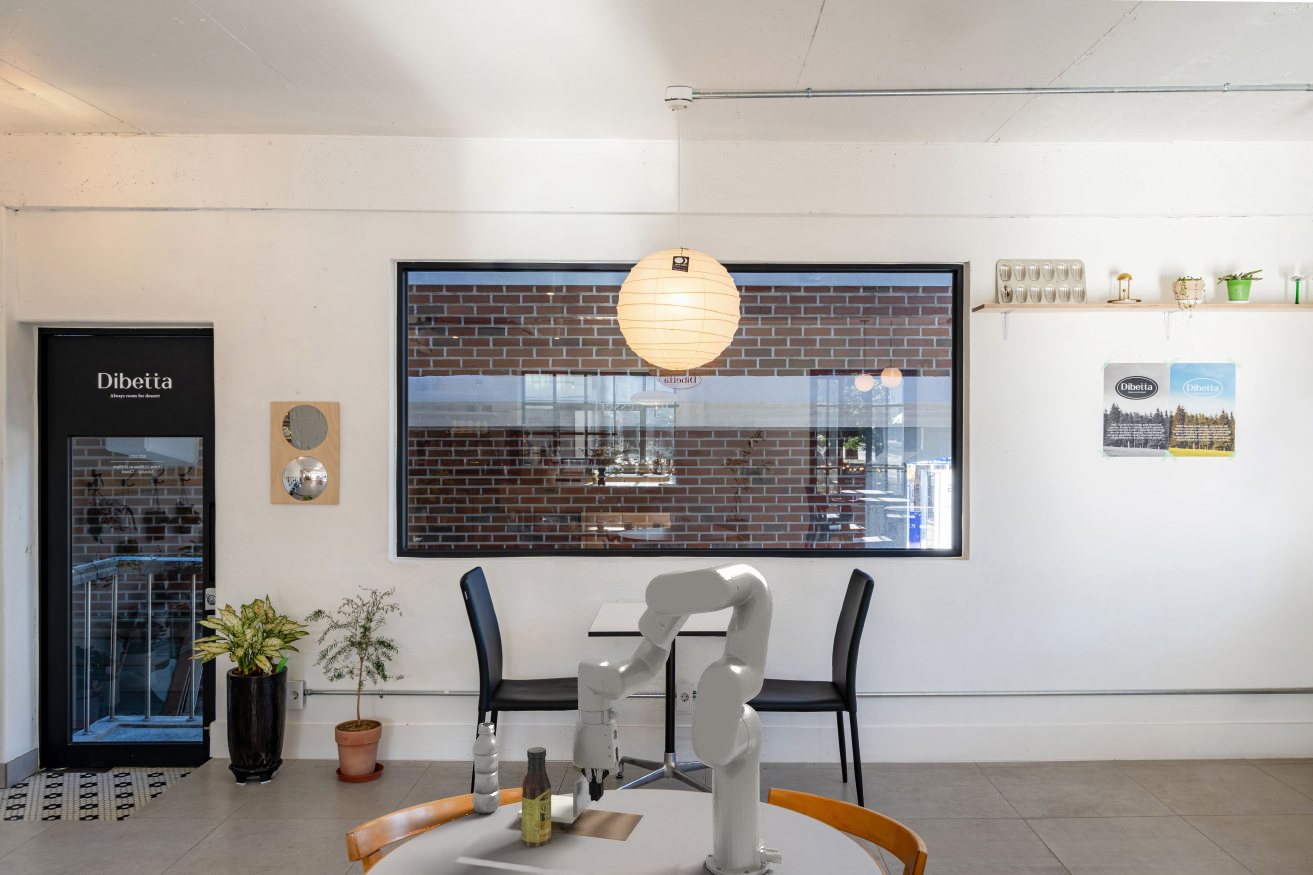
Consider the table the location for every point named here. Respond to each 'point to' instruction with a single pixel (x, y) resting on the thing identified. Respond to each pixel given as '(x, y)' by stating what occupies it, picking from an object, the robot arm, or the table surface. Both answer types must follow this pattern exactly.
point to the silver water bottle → (486, 770)
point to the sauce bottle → (536, 801)
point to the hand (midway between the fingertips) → (596, 798)
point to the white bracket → (569, 804)
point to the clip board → (599, 824)
